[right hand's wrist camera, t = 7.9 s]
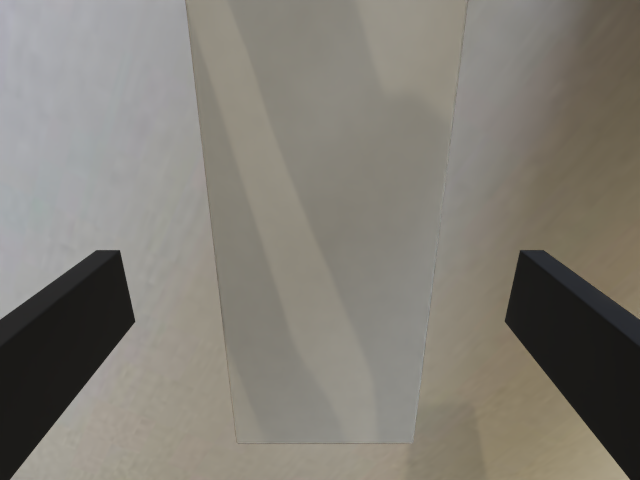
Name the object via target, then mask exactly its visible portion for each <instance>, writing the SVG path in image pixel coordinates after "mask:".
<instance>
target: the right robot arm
mask: <svg viewBox="0 0 640 480" xmlns="http://www.w3.org/2000/svg"><path fill="white" fill-rule="evenodd" d="M134 323H135V318H134V313H133V309H132V304H131V299H130V295H129V290H128V286H127V281H126V276H125V272H124V267H123V263H122V258H121V253H120V250H96V251H95V252H93V253H92V254H91V255H89V256H88V257H87V258H85V259H84V260H82V261H81V262H80V263H78V264H77V265H75V266H74V267H73V268H71V269H70V270H69V271H67V272H66V273H64V274H63V275H62V276H60V277H59V278H57V279H56V280H55V281H53V282H52V283H51V284H49V285H48V286H46V287H45V288H44V289H42V290H41V291H39V292H38V293H37V294H35V295H34V296H33V297H31V298H30V299H28V300H27V301H26V302H24V303H23V304H22V305H20V306H19V307H17V308H16V309H15V310H13V311H12V312H10V313H9V314H8V315H6V316H5V317H4V318H2V319H1V320H0V480H10V479H11V477H12V476H13V475H14V474H15V472H16V471H17V470H18V469H19V467H20V466H21V465H22V464H23V462H24V461H25V460H26V459H27V457H28V456H29V455H30V454H31V452H32V451H33V450H34V448H35V447H36V446H37V445H38V443H39V442H40V441H41V440H42V438H43V437H44V436H45V435H46V433H47V432H48V431H49V430H50V428H51V427H52V426H53V425H54V423H55V422H56V421H57V420H58V418H59V417H60V416H61V414H62V413H63V412H64V411H65V409H66V408H67V407H68V406H69V404H70V403H71V402H72V401H73V399H74V398H75V397H76V396H77V394H78V393H79V392H80V391H81V389H82V388H83V387H84V385H85V384H86V383H87V382H88V380H89V379H90V378H91V377H92V375H93V374H94V373H95V372H96V370H97V369H98V368H99V367H100V365H101V364H102V363H103V362H104V360H105V359H106V358H107V357H108V355H109V354H110V353H111V351H112V350H113V349H114V348H115V346H116V345H117V344H118V343H119V341H120V340H121V339H122V338H123V336H124V335H125V334H126V333H127V331H128V330H129V329H130V328H131V326H132V325H133V324H134ZM505 323H506V324H507V325H508V326H509V328H510V329H511V330H512V331H513V333H514V334H515V335H516V336H517V338H518V339H519V340H520V341H521V343H522V344H523V345H524V346H525V348H526V349H527V350H528V351H529V353H530V354H531V355H532V357H533V358H534V359H535V360H536V362H537V363H538V364H539V365H540V367H541V368H542V369H543V370H544V372H545V373H546V374H547V375H548V377H549V378H550V379H551V380H552V382H553V383H554V384H555V385H556V387H557V388H558V389H559V391H560V392H561V393H562V394H563V396H564V397H565V398H566V399H567V401H568V402H569V403H570V404H571V406H572V407H573V408H574V409H575V411H576V412H577V413H578V414H579V416H580V417H581V418H582V420H583V421H584V422H585V423H586V425H587V426H588V427H589V428H590V430H591V431H592V432H593V433H594V435H595V436H596V437H597V438H598V440H599V441H600V442H601V443H602V445H603V446H604V447H605V448H606V450H607V451H608V452H609V454H610V455H611V456H612V457H613V459H614V460H615V461H616V462H617V464H618V465H619V466H620V467H621V469H622V470H623V471H624V472H625V474H626V475H627V476H628V477H629V479H630V480H640V320H639V319H638V318H636V317H635V316H634V315H632V314H631V313H630V312H628V311H627V310H625V309H624V308H623V307H621V306H620V305H618V304H617V303H616V302H614V301H613V300H612V299H610V298H609V297H607V296H606V295H605V294H603V293H602V292H601V291H599V290H598V289H596V288H595V287H594V286H592V285H591V284H589V283H588V282H587V281H585V280H584V279H583V278H581V277H580V276H578V275H577V274H576V273H574V272H573V271H571V270H570V269H569V268H567V267H566V266H565V265H563V264H562V263H560V262H559V261H558V260H556V259H555V258H553V257H552V256H551V255H549V254H548V253H547V252H545V251H544V250H520V253H519V258H518V263H517V267H516V272H515V276H514V281H513V286H512V290H511V295H510V299H509V304H508V309H507V313H506V318H505Z"/></svg>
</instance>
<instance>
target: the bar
mask: <svg viewBox="0 0 640 480" xmlns="http://www.w3.org/2000/svg"><path fill="white" fill-rule="evenodd" d="M185 2H186V10H187V19H188V28H189V36H190V45H191V54H192V62H193V71H194V80H195V88H196V97H197V106H198V114H199V123H200V132H201V140H202V149H203V158H204V166H205V175H206V184H207V192H208V201H209V210H210V218H211V227H212V236H213V244H214V253H215V262H216V270H217V279H218V288H219V296H220V305H221V314H222V322H223V331H224V340H225V348H226V357H227V366H228V374H229V383H230V392H231V400H232V409H233V418H234V426H235V435H236V442H237V443H238V444H411V443H413V441H414V433H415V425H416V417H417V409H418V400H419V392H420V384H421V376H422V368H423V360H424V352H425V344H426V336H427V328H428V320H429V312H430V304H431V295H432V287H433V279H434V271H435V263H436V255H437V247H438V239H439V231H440V223H441V215H442V207H443V199H444V190H445V182H446V174H447V166H448V158H449V150H450V142H451V134H452V126H453V118H454V110H455V102H456V94H457V85H458V77H459V69H460V61H461V53H462V45H463V37H464V29H465V21H466V13H467V5H468V0H185Z"/></svg>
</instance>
